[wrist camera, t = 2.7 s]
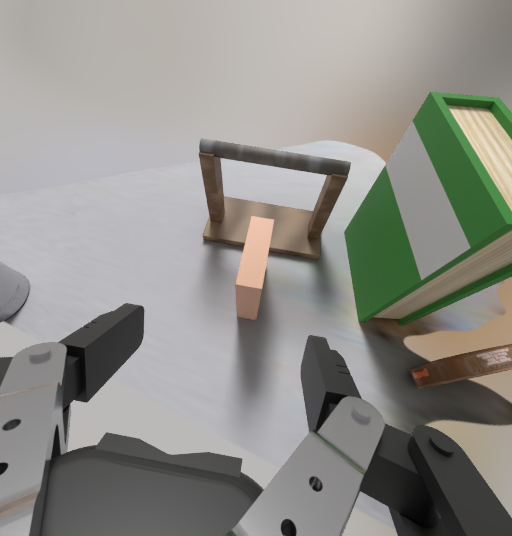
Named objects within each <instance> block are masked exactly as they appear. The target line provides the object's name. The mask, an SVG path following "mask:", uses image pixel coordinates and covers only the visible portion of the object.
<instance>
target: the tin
mask: <svg viewBox="0 0 512 536" xmlns="http://www.w3.org/2000/svg"><path fill="white" fill-rule="evenodd" d="M510 369H512V344H510V345H504V346H499V347H493V348H488V349H483V350H478V351H474V352H469V353H464V354H460V355H455V356H451V357H447V358H443V359H439V360H436V361H432V362H429V363H426V364H424V365H423V366H421V367H416V368H410V373H411V375H412V377H413V379H414V381H415V383H416V386H417V389H420V388H425V387H430V386H435V385H440V384H446V383H450V382H455V381H460V380H464V379H469V378H474V377H479V376H483V375H488V374H493V373H497V372H502V371H507V370H510Z"/></svg>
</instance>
